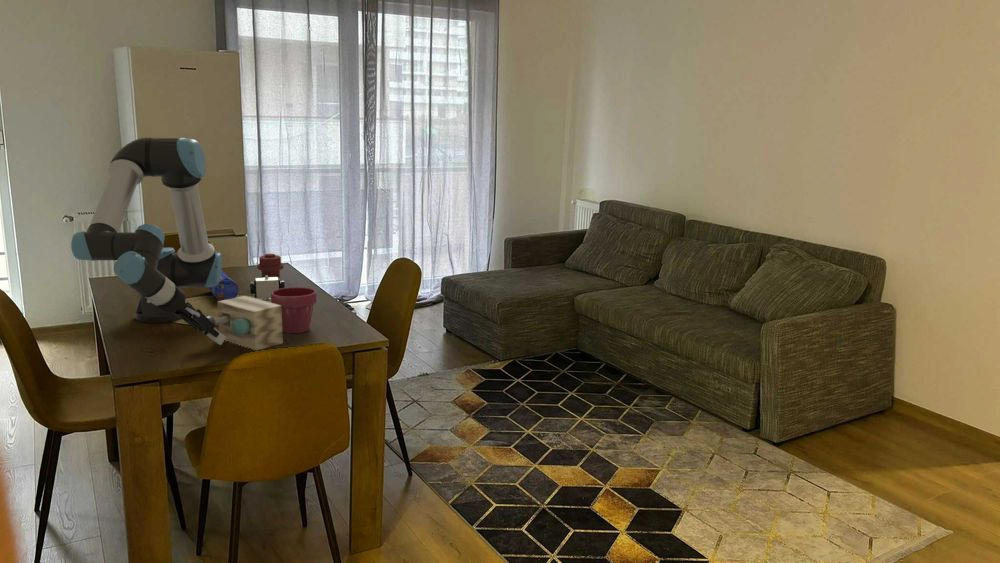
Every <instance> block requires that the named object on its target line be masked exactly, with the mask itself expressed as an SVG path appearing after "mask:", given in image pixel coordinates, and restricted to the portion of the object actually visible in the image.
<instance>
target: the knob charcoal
mask: <svg viewBox="0 0 1000 563" xmlns="http://www.w3.org/2000/svg"><path fill="white" fill-rule="evenodd" d="M205 316H206V317H207V318H208V319H209V320H210V321H211V322H212V323H213V324H214V325H215V327H214V328H216V326H219V325H221V324H225V323H229V322H230V315H228V316H223V317H219V318H218V317H215V318H214V316H212V315H205ZM198 331H199V332H200V333H201V334H203V332H204V331H200V330H199V329H198Z"/></svg>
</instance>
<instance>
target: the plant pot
mask: <svg viewBox="0 0 1000 563" xmlns="http://www.w3.org/2000/svg"><path fill="white" fill-rule="evenodd" d="M271 303H274V304H278V305H281V308H282V333H287V334H298V333H299V334H300V333H304V332H308V331H309V330H310V327H311V322H312V317H313V311H314V305H315V304H316V303H317V290H316V289H314V288H311V287H301V286H295V287H294V286H293V287H291V286H290V287H289V286H288V287H285V288H281V289H277V290H274V291H272V293H271Z"/></svg>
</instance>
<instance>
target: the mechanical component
mask: <svg viewBox="0 0 1000 563" xmlns="http://www.w3.org/2000/svg"><path fill="white" fill-rule="evenodd" d="M258 259H259V260H258V262H259V263H258V264H257V270H258V271H260V272H261V278H265V276H268V277H279V278H280V279H281V275H280V274H281V273H280V271H281V270H283V269H284V264H283V263H282V257H281V255H276V254H275V253H265V254H264V255H261V256H259V258H258Z"/></svg>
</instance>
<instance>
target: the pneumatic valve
mask: <svg viewBox="0 0 1000 563" xmlns="http://www.w3.org/2000/svg"><path fill="white" fill-rule="evenodd" d="M281 288H286V287H285V280H281V277H280V278H279V277H268V276H265V278H262V277H254V278H253V280H252V281H250V282H249V294H250V295H253V296H254V298H255V299H261V300H263V301H267V302H270V303H271V293H272V291H274V290H277V289H281Z"/></svg>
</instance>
